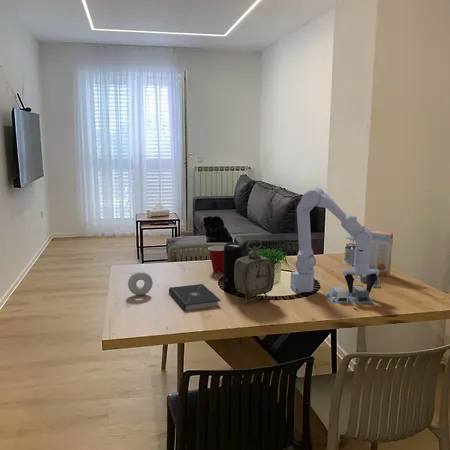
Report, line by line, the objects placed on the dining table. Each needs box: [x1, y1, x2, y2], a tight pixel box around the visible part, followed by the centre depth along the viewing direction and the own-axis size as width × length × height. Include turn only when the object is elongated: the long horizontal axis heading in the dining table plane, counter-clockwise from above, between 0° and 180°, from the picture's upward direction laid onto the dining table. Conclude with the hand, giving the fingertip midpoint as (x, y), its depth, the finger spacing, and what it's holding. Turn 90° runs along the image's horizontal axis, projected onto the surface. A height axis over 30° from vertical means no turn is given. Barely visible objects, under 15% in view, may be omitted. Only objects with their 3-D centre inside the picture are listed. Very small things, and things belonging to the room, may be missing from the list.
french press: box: [341, 215, 358, 266], centre depth 249 cm, size 10×12×25 cm
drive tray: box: [323, 291, 375, 305], centre depth 192 cm, size 17×11×3 cm, turn 97°
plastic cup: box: [207, 245, 225, 273], centre depth 230 cm, size 11×11×12 cm
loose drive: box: [350, 284, 370, 302], centre depth 192 cm, size 4×8×4 cm, turn 7°
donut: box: [127, 271, 153, 296], centre depth 194 cm, size 10×4×10 cm, turn 106°
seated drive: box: [330, 285, 349, 302], centre depth 191 cm, size 4×8×4 cm, turn 7°
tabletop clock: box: [234, 238, 275, 305], centre depth 189 cm, size 14×9×25 cm, turn 122°
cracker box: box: [369, 229, 394, 278], centre depth 229 cm, size 14×6×21 cm, turn 58°
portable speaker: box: [222, 242, 244, 292], centre depth 203 cm, size 9×9×20 cm
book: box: [168, 283, 222, 312], centre depth 190 cm, size 22×15×3 cm
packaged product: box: [356, 268, 381, 288], centre depth 219 cm, size 18×5×10 cm
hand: (359, 292), depth 192 cm, fingers open, 7 cm apart
